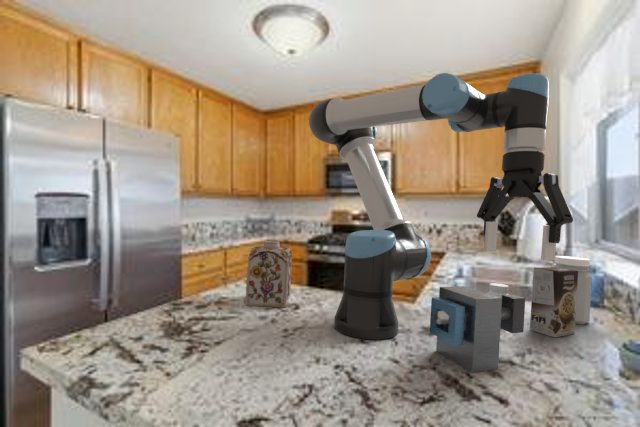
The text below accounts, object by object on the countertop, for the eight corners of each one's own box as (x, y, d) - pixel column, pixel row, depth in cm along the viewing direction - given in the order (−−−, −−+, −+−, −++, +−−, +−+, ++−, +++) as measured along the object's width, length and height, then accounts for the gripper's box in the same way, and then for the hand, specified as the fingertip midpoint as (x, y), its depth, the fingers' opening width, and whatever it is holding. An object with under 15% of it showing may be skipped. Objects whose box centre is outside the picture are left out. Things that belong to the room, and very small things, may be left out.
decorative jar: (286, 308, 97) (289, 244, 97) (244, 306, 98) (247, 241, 97) (290, 298, 109) (293, 240, 109) (253, 295, 109) (256, 238, 109)
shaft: (442, 339, 65) (444, 301, 65) (432, 333, 67) (434, 297, 67) (523, 332, 71) (525, 298, 71) (510, 327, 74) (512, 294, 74)
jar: (552, 321, 98) (556, 257, 98) (545, 312, 107) (548, 254, 107) (595, 327, 95) (599, 261, 94) (583, 318, 104) (586, 257, 104)
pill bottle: (511, 325, 93) (513, 287, 93) (488, 322, 94) (490, 285, 94) (504, 319, 98) (506, 283, 98) (483, 316, 99) (485, 281, 99)
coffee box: (555, 338, 84) (559, 271, 84) (528, 329, 90) (532, 266, 90) (576, 334, 88) (579, 270, 88) (549, 326, 94) (552, 266, 94)
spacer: (454, 345, 63) (456, 307, 63) (429, 332, 70) (431, 297, 70) (463, 344, 64) (465, 306, 64) (438, 331, 70) (439, 297, 70)
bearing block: (472, 372, 63) (476, 299, 63) (436, 350, 72) (439, 286, 72) (498, 369, 65) (502, 298, 65) (459, 348, 74) (463, 286, 74)
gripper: (601, 145, 62) (593, 265, 62) (488, 161, 85) (483, 247, 86) (573, 140, 59) (564, 265, 60) (464, 157, 83) (458, 247, 83)
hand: (516, 255), depth 73 cm, fingers open, 13 cm apart
